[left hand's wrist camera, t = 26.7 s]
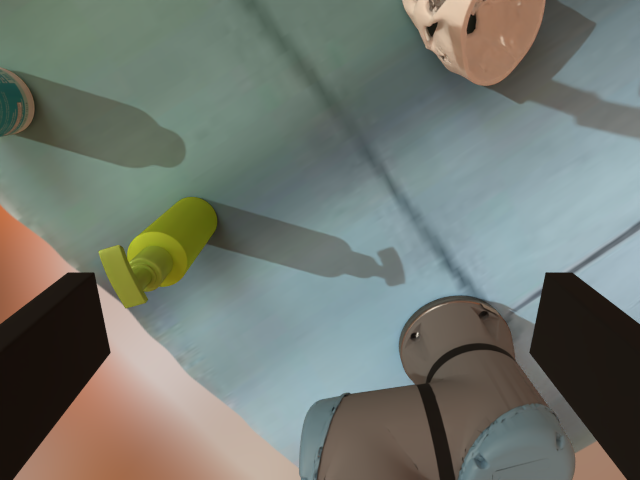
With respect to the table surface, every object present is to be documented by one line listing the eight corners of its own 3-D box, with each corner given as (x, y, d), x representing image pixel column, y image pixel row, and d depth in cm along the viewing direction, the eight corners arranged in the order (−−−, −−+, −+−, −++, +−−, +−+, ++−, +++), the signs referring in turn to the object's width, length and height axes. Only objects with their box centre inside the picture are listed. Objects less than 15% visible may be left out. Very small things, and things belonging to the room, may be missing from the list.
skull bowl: (431, -102, 41) (527, -91, 33) (487, -1, 51) (572, 27, 43) (361, -5, 44) (433, 27, 36) (427, 73, 54) (496, 113, 45)
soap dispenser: (203, 183, 53) (139, 240, 34) (224, 233, 55) (174, 313, 36) (159, 196, 53) (72, 260, 34) (181, 246, 55) (111, 331, 37)
